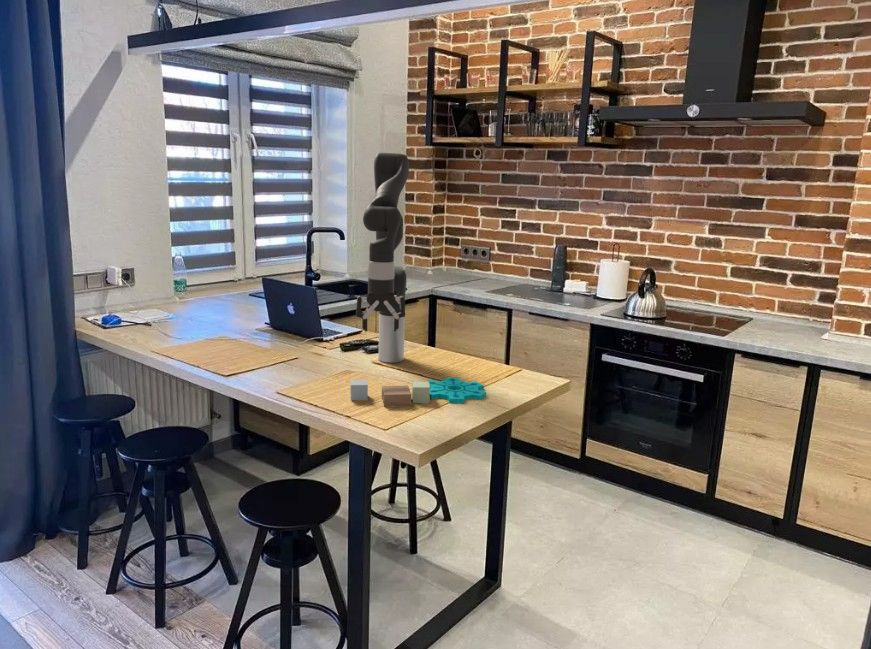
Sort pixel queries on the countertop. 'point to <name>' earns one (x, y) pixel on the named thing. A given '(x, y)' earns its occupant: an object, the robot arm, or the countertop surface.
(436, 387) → the decorative ornament
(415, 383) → the sage block
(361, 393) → the slate cube
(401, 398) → the walnut base
